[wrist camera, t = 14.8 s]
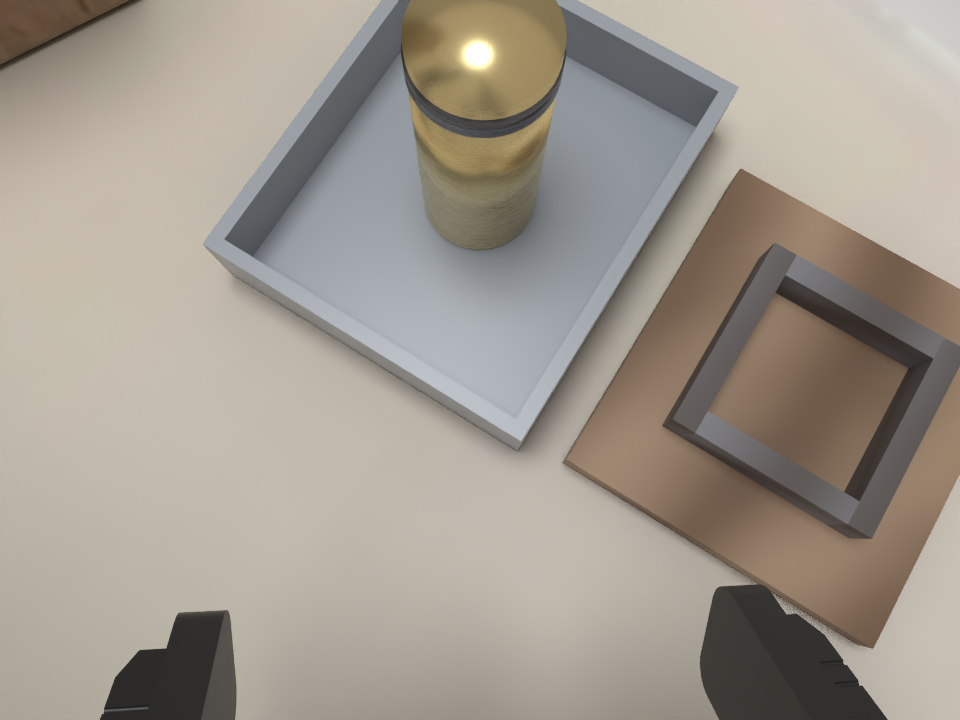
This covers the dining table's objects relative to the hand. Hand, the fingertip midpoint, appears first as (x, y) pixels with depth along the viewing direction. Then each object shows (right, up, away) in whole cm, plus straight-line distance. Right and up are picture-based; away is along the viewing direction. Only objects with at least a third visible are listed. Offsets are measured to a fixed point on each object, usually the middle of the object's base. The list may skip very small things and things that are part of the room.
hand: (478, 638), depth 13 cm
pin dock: (+11, +3, +14) cm, 18 cm away
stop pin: (0, +10, +15) cm, 19 cm away
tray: (0, +10, +16) cm, 19 cm away
